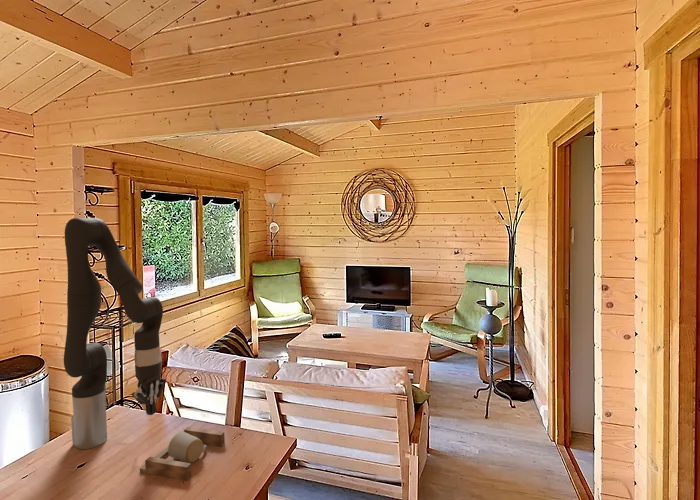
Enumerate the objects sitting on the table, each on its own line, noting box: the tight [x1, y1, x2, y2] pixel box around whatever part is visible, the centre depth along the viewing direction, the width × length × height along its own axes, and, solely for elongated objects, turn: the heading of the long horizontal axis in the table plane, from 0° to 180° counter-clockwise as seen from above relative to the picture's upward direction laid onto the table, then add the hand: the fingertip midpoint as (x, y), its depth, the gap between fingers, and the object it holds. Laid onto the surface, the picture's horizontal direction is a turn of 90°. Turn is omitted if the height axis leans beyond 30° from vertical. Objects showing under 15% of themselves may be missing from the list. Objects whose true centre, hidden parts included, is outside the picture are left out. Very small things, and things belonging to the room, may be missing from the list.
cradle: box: [139, 426, 226, 482], centre depth 129 cm, size 16×20×4 cm
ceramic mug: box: [168, 431, 207, 464], centre depth 130 cm, size 11×8×8 cm
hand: (151, 413), depth 131 cm, fingers closed
